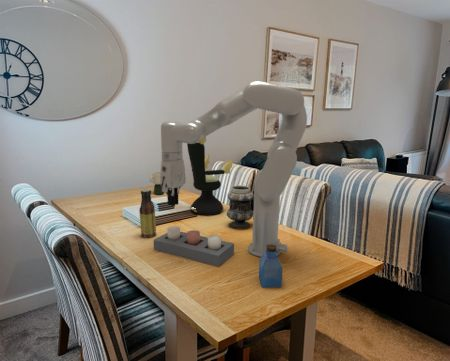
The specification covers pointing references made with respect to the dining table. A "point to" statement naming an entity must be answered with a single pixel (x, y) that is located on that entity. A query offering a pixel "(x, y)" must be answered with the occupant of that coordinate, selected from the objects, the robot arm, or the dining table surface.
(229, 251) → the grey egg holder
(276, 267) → the perfume bottle
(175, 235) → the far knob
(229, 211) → the apothecary jar
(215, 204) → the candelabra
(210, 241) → the near knob
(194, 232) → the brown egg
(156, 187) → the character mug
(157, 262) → the dining table surface
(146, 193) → the sauce bottle
